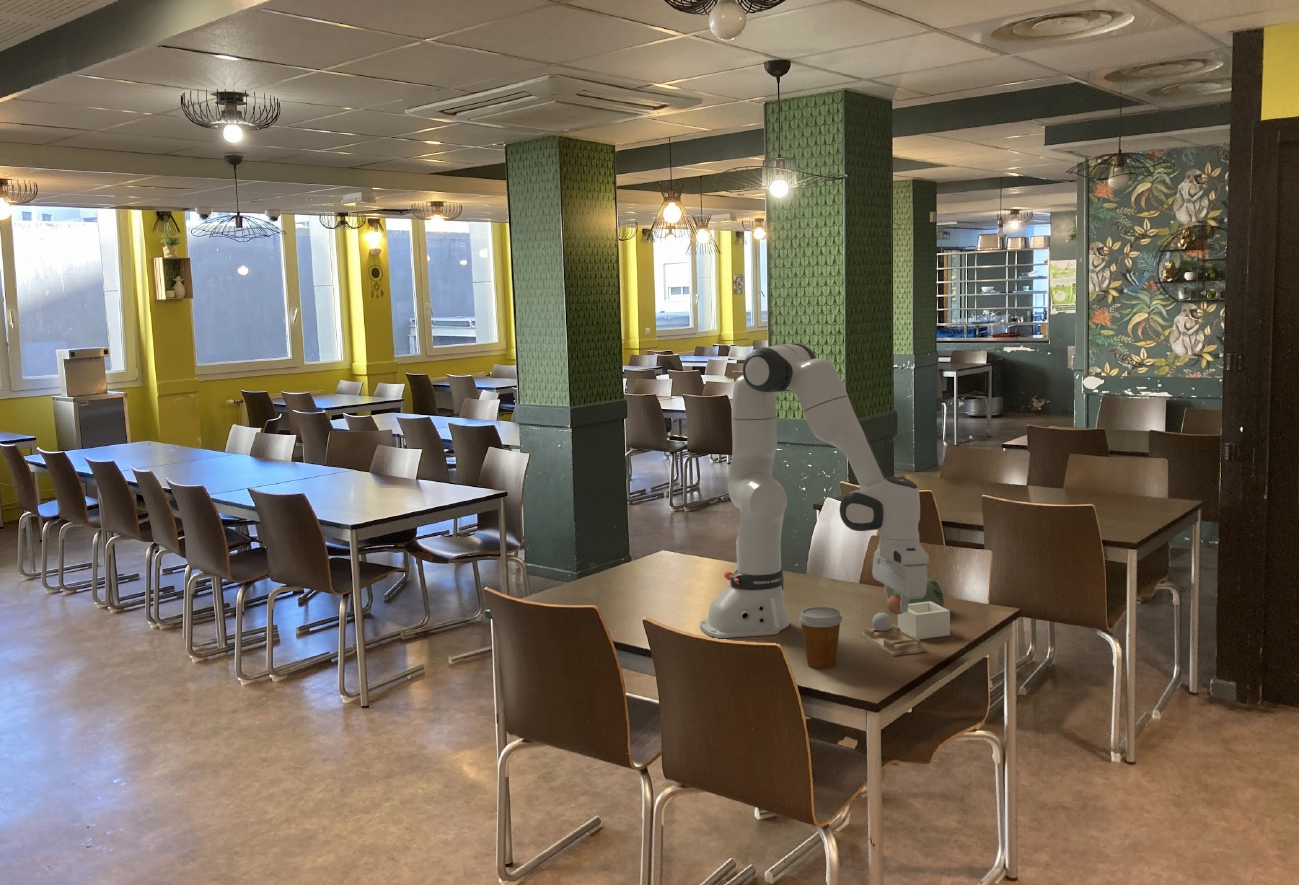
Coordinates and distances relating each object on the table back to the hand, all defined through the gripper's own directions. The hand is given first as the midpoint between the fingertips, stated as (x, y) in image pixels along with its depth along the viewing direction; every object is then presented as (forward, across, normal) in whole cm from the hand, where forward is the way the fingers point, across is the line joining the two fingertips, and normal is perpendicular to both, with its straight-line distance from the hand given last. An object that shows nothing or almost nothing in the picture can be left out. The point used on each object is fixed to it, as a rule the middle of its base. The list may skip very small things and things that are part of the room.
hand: (897, 608), depth 243 cm
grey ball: (+6, -10, +1) cm, 12 cm away
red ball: (-1, 0, 0) cm, 1 cm away
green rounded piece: (+10, -25, +18) cm, 33 cm away
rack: (+10, -5, +2) cm, 11 cm away
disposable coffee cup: (+11, +3, -19) cm, 22 cm away
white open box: (+10, -10, +12) cm, 19 cm away
